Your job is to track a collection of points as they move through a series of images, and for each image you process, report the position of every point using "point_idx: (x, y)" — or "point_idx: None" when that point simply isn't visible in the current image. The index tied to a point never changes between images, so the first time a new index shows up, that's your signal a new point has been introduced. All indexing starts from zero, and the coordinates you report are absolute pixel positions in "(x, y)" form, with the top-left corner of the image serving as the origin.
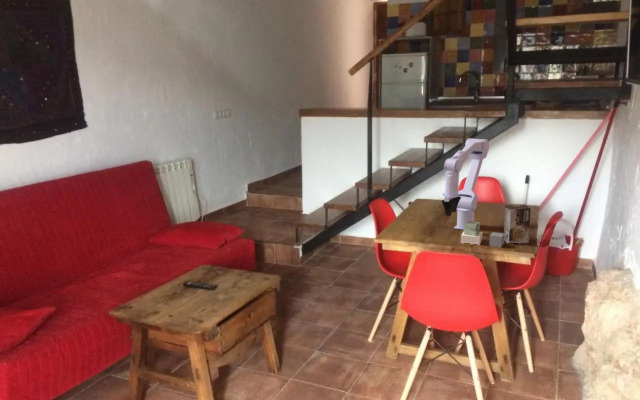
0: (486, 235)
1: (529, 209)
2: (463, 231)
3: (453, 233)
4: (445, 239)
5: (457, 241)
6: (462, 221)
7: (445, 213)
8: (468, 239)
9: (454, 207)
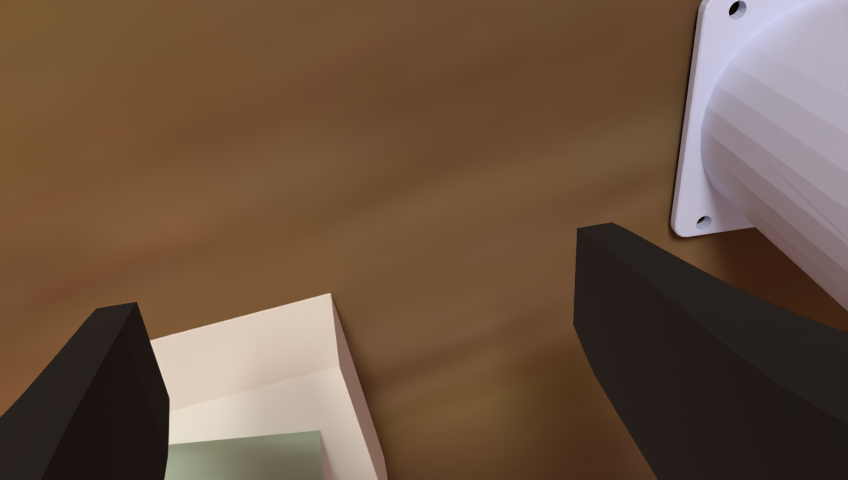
0: (564, 425)
1: None
2: (269, 385)
3: (448, 96)
4: (75, 131)
5: (122, 299)
6: (763, 176)
7: (68, 341)
8: None
9: (632, 388)
